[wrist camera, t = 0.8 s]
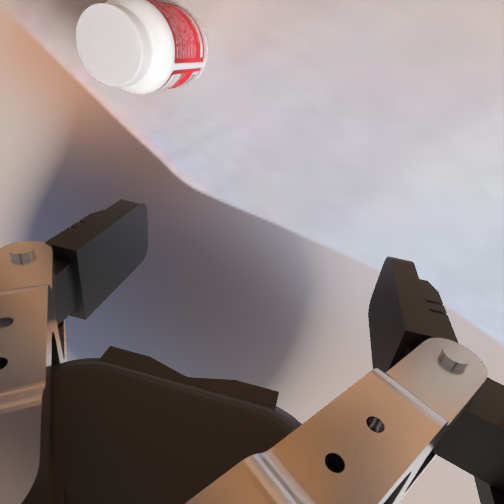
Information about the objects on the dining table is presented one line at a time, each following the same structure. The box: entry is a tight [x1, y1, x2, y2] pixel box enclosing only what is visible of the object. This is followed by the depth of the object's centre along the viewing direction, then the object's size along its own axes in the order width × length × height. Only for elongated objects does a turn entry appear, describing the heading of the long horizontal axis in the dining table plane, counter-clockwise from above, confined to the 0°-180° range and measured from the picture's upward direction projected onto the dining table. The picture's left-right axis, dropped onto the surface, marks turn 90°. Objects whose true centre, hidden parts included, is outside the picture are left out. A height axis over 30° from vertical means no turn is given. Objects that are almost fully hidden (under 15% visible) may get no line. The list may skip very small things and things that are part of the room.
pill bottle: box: [75, 0, 208, 94], centre depth 28 cm, size 6×6×11 cm
